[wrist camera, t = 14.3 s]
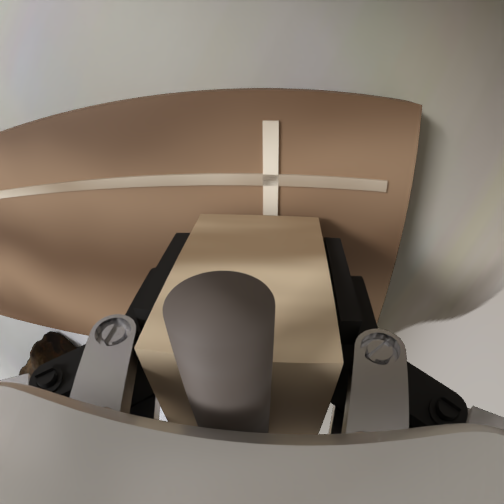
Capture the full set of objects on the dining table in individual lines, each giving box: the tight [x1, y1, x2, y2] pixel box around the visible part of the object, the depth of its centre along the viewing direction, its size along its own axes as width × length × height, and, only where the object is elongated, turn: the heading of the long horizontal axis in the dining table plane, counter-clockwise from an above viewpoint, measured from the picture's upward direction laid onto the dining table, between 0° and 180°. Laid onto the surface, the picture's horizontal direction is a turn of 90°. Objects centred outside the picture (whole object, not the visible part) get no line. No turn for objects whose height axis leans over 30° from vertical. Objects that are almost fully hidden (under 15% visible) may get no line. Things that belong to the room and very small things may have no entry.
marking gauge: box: [134, 214, 344, 434], centre depth 8 cm, size 8×4×7 cm, turn 1°
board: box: [0, 88, 422, 336], centre depth 13 cm, size 12×26×2 cm, turn 91°
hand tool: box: [19, 332, 77, 376], centre depth 21 cm, size 19×4×5 cm, turn 129°
